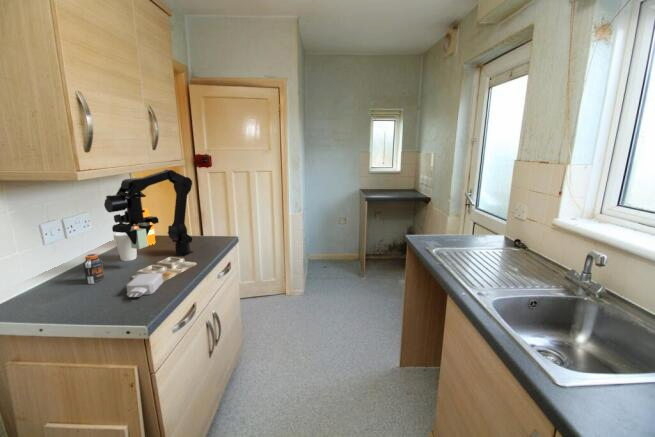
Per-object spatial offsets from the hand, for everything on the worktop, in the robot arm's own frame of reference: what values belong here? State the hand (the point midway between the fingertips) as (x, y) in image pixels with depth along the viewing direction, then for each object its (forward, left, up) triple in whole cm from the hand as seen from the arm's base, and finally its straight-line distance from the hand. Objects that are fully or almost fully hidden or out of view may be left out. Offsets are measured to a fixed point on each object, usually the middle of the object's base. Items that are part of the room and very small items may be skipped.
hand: (139, 242), depth 136 cm
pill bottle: (+17, -6, -12) cm, 22 cm away
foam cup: (-7, -16, -12) cm, 21 cm away
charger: (+19, +20, -12) cm, 31 cm away
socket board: (0, +13, -12) cm, 18 cm away
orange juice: (-26, -27, -12) cm, 39 cm away
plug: (0, 0, -2) cm, 2 cm away
